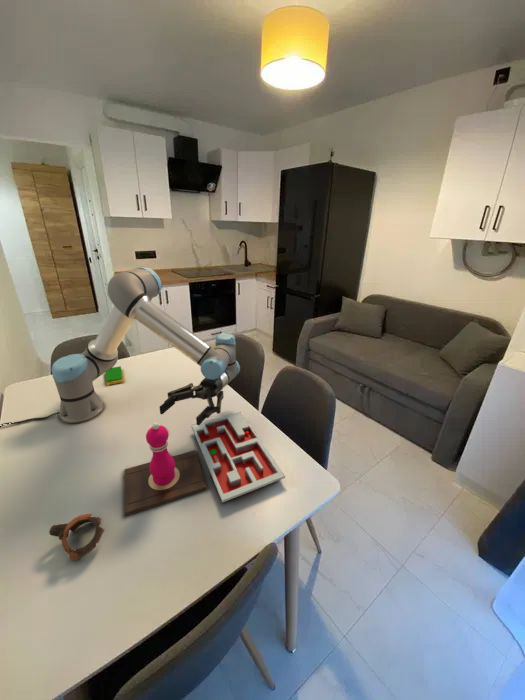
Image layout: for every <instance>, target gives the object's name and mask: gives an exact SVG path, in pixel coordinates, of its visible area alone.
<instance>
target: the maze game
mask: <svg viewBox="0 0 525 700" xmlns="http://www.w3.org/2000/svg"><path fill="white" fill-rule="evenodd" d="M191 428H192V432H193V433H194V434H193V435H194V436H195V439H196V441H197V445H198V446H199V448H200V449H199V450H200V451H201V453H202V456H203V458H204V462H205V463H206V466H207V468H208V471H209V473H210V476H211V478H212V480H213V482H214V485H215V488H216V490H217V493H218V495H219V498H220V499H221V500H220V501H221V503H222V504H223V503H225V502H228V501H230V500H233V499H235V498H238V497H241V496H242V495H246V494H247V493H250V492H253V491H255V490H259V489H260V488H262V487H266V486H268V485H270V484H272V483H275V482H278V481H280V480H284V479H285V478H286V475H285V473H284V472H283V470H282V469H281V468H280V466H279V465H278V463H277V462H276V461H275V458H274V457H273V456H272V454H271V453H270V452H269V450H268V449H267V447H266V446H265V445H264V443H263V441H262V439H261V438H260V437H259V436H258V434H257V433H256V431H255V430H254V428H253V427H252V425H251V424H250V423H249V421H248V420H247V419H246V417H245V415H244V414H243V413H242V411H238V412H234V413H230V414H226V415H223V416H219V417H216V418H212V419H208V420H204V421H203V422H202V423H201V424H200V425H197V423H193V424H191Z"/></svg>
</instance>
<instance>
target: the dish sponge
mask: <svg viewBox="0 0 525 700" xmlns="http://www.w3.org/2000/svg"><path fill="white" fill-rule="evenodd" d="M120 383H124V376H123V371H122V366H121V365H119V366H113V367H112V368H111V369H110V370H108V371H106V372H105V384H106V385H107V386H111V385H115V384H120Z"/></svg>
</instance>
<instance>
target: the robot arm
mask: <svg viewBox="0 0 525 700" xmlns="http://www.w3.org/2000/svg"><path fill="white" fill-rule="evenodd" d="M162 286H163V285H162V281H161V278H160V276H159V275H158V273H156V271H154V270H153V269H152V268H150V267H146V266H141V267H135V268H133V269H129V270H126V271H121V272H118V273H116V274H114V275H113V276H112V277H111V278H110V279H109V281H108V283H107V295H108V298H109V300H110V301H111V303H112V304H113V307H112V309H111V311H110V313H109V314H108V316H107V318H106V320H105V322H104V324H103V325H102V327H101V329H100V331H99V333H98V334H97V336H96V338H95V339H92V340H90V341H89V342H88V344H87V346H86V348H85V349H84V350H83V352H81V353H72V354H68V355H67V356H66V355H64V356H62V357H59V358H58V359H56V361H54V362H53V364H52V366H51V373H52V379H53V381H54V383H55V387H56V389H57V390H56V391H57V393H58V396H59V398H60V404H59V411H57V412H53V413H51V414H49V415H47V416H43V417H32V418H28V419H27V418H26V419H22V420H19V421H10V422H4V423H1V424H0V425H2V426H0V428H2V427H3V426H5V425H3V424H7V425H6V426H8V425H17V424H23V423H26V422H30V421H37V420H38V421H39V420H40V421H41V420H45V419H46V420H47V419H49V418H51V417H54V416H56V415H59V418H60V420H61V422H64V423H67V424H79V423H84V422H87V421H89V420H92V419H94V418H96V417H97V416H98V415H100V414H101V412H103V410H104V407H105V405H104V402H103V400H102V399H101V397H100V396H99V395H98V394H97V392H96V391H95V388H94V387H95V386H94V383H93V382H94V381H95V380H97V379H98V378H99V377H101V376H102V375H103V374H106V371H108V370H110V369H111V368H114V367H115V365H116V364H117V362H118V360H119V355H118V354H119V350H118V348H119V347H120V344H121V343H122V341H123V339H124V338H125V337H126V334H127V333H128V331H129V329H130V328H131V327H132V324H133V323H134V321H135V320H136V321H137V322H139V323H140V324H142V325H143V326H144V327H146V328H148V329H149V330H150V331H151V332H153V333H154V334H156V335H157V336H158V337H159V338H161V339H162V340H164V341H165V342H166V343H168V344H169V345H171V346H172V347H173V348H175V349H176V350H178V352H180V353H182V354H183V355H185V356H186V357H187V358H189V359H190V360H191V361H192V362H194V363H195V364H197V365H198V366H199V367H200V372H201V374H202V376H203V377H204V378H203V379H202V380H201V381H200V383H199V384H198V385H194V383H192V382H190V383H188V384H187V385H185V386H181V387H179V388H176V389H174V390H171V391H169V392H167V399H166V400H164V402H163V403H162V404H161V405H159V407H158V408H159V414H160V415H163V414H165V413H166V412H167V411H168V410H170V408H172V407H174V405H175V404H176V403H177V402H181V401H184V400H188V399H200V400H206V401H207V404H208V405H207V406H206V407H205V408H204V409H203V410H202V411H201V412H200V413H199V414H198V415H197V416H196V417H195V421H196V424H197V425H200V424H201V423H202V422H204V421H206V419H209V418H210V417H212V415H213V414H215V413H216V414H217V415H219V414H221V413H222V401H223V399H224V389H225V387H227V386H228V385H229V384H230V382H232V381H233V380H234V379H235V378H236V377H238V374H239V373H240V371H241V365H240V363H239V362H238V360H237V357H236V355H237V354H236V353H237V351H236V350H237V348H236V347H237V346H236V345H237V343H236V337H235V336H234V335H233V334H231V333H227V332H225V333H224V332H223V333H219V334H217V335H216V336H215V341H214V344H215V346H214V347H212V346H211V345H209V344H208V343H207V342H205V341H204V340H203V339H201V338H200V337H198V335H196V334H195V333H193V332H192V331H190V329H188V328H187V327H185V326H184V325H182V324H181V323H180V322H179V321H177V320H176V319H174V318H173V317H172V316H170V315H169V314H168V313H166V312H165V311H164V310H163V309H161V308H160V307H158V306H157V305H156V304H155V303H153V302H152V300H153V298H156V297H158V295H159V294H160V293H161V291H162ZM215 397H216V406H215V403H214V400H213V398H215ZM12 422H14V423H12ZM9 423H11V424H9Z"/></svg>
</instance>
